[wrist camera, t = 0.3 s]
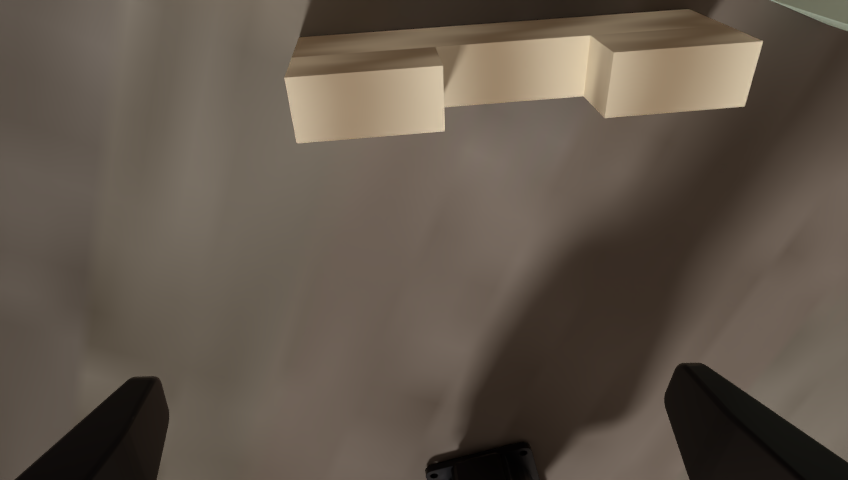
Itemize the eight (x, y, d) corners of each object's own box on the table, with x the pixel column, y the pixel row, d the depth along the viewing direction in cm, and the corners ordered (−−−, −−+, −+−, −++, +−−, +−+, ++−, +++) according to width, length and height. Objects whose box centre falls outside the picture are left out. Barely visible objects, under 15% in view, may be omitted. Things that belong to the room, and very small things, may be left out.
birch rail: (689, 8, 20) (763, 41, 16) (677, 64, 21) (744, 106, 18) (299, 37, 19) (284, 77, 16) (308, 93, 21) (296, 143, 17)
